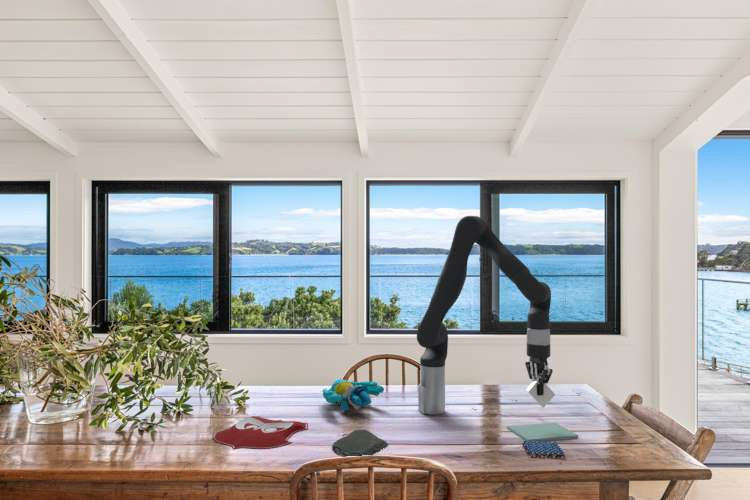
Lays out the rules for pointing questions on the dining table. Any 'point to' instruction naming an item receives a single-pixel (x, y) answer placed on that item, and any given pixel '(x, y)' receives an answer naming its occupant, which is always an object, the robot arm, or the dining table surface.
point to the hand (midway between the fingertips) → (538, 394)
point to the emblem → (259, 433)
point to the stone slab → (358, 444)
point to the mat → (542, 432)
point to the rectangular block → (545, 397)
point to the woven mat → (543, 449)
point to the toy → (351, 393)
